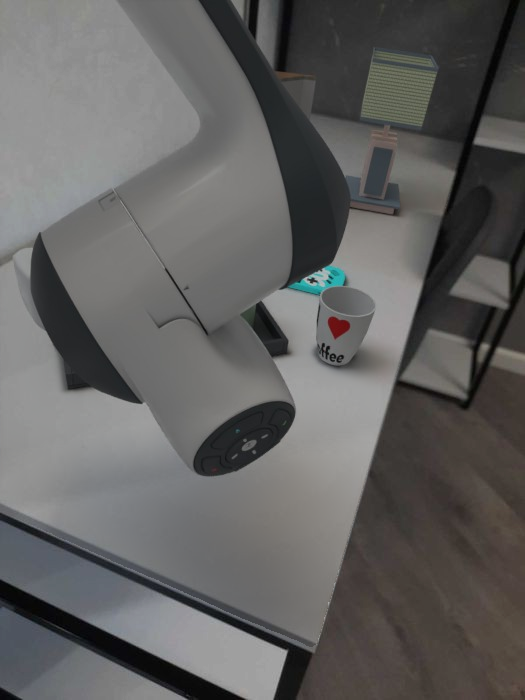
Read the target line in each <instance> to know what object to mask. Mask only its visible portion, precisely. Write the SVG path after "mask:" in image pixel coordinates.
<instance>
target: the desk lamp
mask: <svg viewBox="0 0 525 700" xmlns="http://www.w3.org/2000/svg"><path fill="white" fill-rule="evenodd" d="M368 70H369V71H368V75H367V80H366V85H365V90H364V94H363V99H362V103H361V109H360V115H359V121H361V122H366V123H372V124H378V125H384V127H383V130H380V129H372V128H371V133H370V138H369V142H368V145H367V151H366V155H365V159H364V163H363V168H362V173H361V177H360V176H359V177H358V176H352V175H348V174H347V175H345V179H346V181H347V184H348V187H349V191H350V196H351V203H350V208H354V209H360V210H365V211H371V212H377V213H383V214H389V215H394V212H395V210H400V209H401V201H400V199H401V198H400V188H399V183H395V182H394V183H393V182H389V181H390V177H391V172H392V170H393V166H394V162H395V158H396V154H397V150H398V148H399V147H398V146H399V143H398V141H399V140H398V139H399V138H398V137H397V136H398V133H397V132H393V131H392V132H391V131H390V129H391V127H395V128H396V127H397V128H403V129H409V130H414V131H415V130H416V131H420V132H421V131H422V129H423V124H424V121H425V117H426V114H427V111H428V106H429V102H430V99H431V96H432V92H433V89H434V85H435V81H436V78H437V74H438V72H439V66H438V64H437V62H436V61H435V59H434V57H433V55H430V54H429V55H428V54H422V53H416V52H409V51H403V50H396V49H389V48H382V47H375V46H374V47H373V50H372V56H371V61H370V66H369V69H368Z"/></svg>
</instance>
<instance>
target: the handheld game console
mask: <svg viewBox="0 0 525 700" xmlns="http://www.w3.org/2000/svg"><path fill="white" fill-rule="evenodd" d="M345 281H346V273H345V271H344V270H342V269H341V268H339V267H337V266H333V265H329V266H327V267H325V268H323V269H321V270H319V271H317V272H315V273H313V274H311V275H309V276H308V277H306V278H304V279H302V280H300V281H298V282H296V283H294V284H292V285H290V286H288V287H287V288H289V289H294V290H298V291H301V292H306V293H310V294H314V295H318V296H320V294H321V292H322V291H323V290H324V289H326V288H328V287H332V286H345V285H344V284H345Z"/></svg>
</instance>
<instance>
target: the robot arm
mask: <svg viewBox="0 0 525 700" xmlns="http://www.w3.org/2000/svg"><path fill="white" fill-rule="evenodd" d="M115 1H116V3H117V4H118V5H119V7H120V8H121V9H122V11H123V12H124V14H125V15H126V16H127V18H128V19H129V20H130V22H131V23H132V25H133V27H135V28H136V31H138V33H139V34H140V36H142V38H143V40H144V41H145V43H146V44H147V46H148V47H149V48H150V50H151V51H152V53H153V54H154V55H155V57H156V58H157V60H159V62H160V63H161V65H162V66H163V67H164V69H165V70H166V72H167V73H168V74H169V75H170V77H171V79H172V80H173V81H174V83H175V85H177V87H178V88H179V90H180V91H181V93H182V94H183V95H184V96H185V98H186V99H187V100H188V103H190V106H192V107H193V109H194V110H195V112H196V113H197V116H198V119H199V128H198V131H197V133H196V134H195V136H194V137H193V138H192V139H191V140H190V141H188V142H187V143H186V144H185V145H182V146H181V147H180V148H178V149H176V150H175V151H173V152H172V153H170V154H168V155H167V156H165V157H163V158H162V159H160V160H158V161H156V162H155V163H154V164H152V165H150V166H149V167H147V168H145V169H143V170H142V171H139V173H137V174H135V175H134V176H132V177H130V178H129V179H126V181H124V182H122V183H120V184H118V185H117V186H115V187H114V188H112V187H110V188H108V189H107V190H104V192H102V193H100V194H98V195H97V196H95V197H93V198H92V199H90V200H89V201H87V202H85V203H83V204H82V205H80V206H79V207H77V208H75V209H74V210H72V211H71V212H69V213H67V214H66V215H65V216H63V217H62V218H60V219H58V220H57V221H55V222H53V224H50V225H49V226H48V227H46V228H45V229H43V231H40V232H38V234H37V236H36V238H35V241H34V243H33V246H32V247H23V248H21V249H19V250H18V251H16V252H15V253H14V254H13V255H12V263H13V269H14V273H15V278H16V282H17V286H18V290H19V294H20V298H21V299H22V302H23V304H24V306H25V308H26V310H27V312H28V315H30V317H31V319H32V321H33V322H34V323H35V324H36V326H38V327H39V328H40V329H41V330H42V331H45V332H46V334H47V336H48V338H49V340H50V341H51V344H52V346H53V349H54V352H55V353H56V355H58V356H59V357H61V358H62V360H63V359H64V360H65V362H66V363H67V364H68V365H69V366H70V368H71V369H72V370H73V371H74V372H75V373H76V374H77V375H78V376H79V377H80V378H81V379H83V380H84V381H85V382H86V383H88V384H89V385H90V387H92V388H93V389H95V390H97V391H98V392H101V393H103V394H106V395H108V396H111V397H114V398H116V399H118V400H121V401H124V402H128V403H132V404H137V405H143V403H145V405H147V407H148V408H149V411H150V413H151V414H152V417H153V418H154V420H155V422H156V424H157V425H158V427H159V429H160V430H161V432H162V433H163V435H164V436H165V438H166V439H167V441H168V442H169V443H170V445H171V447H172V448H173V449H174V451H175V452H176V454H177V456H178V457H179V458H180V460H181V461H182V462H183V464H185V466H186V467H187V468H188V469H189V470H190V471H191V472H192V473H194V474H195V475H197V476H200V477H207V478H209V477H211V478H212V477H219V476H224V475H227V474H231V473H235V472H238V471H240V470H242V469H244V468H245V467H247V466H249V465H250V464H252V463H254V462H256V461H257V460H258V459H260V458H261V457H263V456H264V455H265V454H267V453H268V452H270V451H271V450H272V449H274V448H275V447H276V446H277V445H279V443H281V442H282V440H283V438H285V436H286V434H287V433H288V432H289V431H290V429H291V427H292V425H293V424H294V422H295V419H296V416H297V415H296V414H297V407H296V403H295V400H294V397H293V395H292V393H291V390H290V389H289V387H288V384H287V382H286V381H285V378H284V377H283V375H282V373H281V372H280V370H279V368H278V366H277V364H276V362H275V360H274V358H272V357H273V356H271V355H270V354H269V352H268V351H267V349H266V348H265V346H264V345H263V343H262V342H261V340H260V339H259V337H258V336H257V334H256V333H255V332H254V330H253V329H252V328H251V326H250V325H249V324H248V323H247V321H246V320H245V319H244V318H243V317H242V316H240V314H241V313H243V312H244V311H246V310H247V309H249V308H251V307H252V306H254V305H255V304H257V303H258V302H260V301H263V300H265V299H266V298H267V297H269V296H270V295H272V294H274V293H276V292H277V291H282V290H285V289H287V288H289V287H288V286H290V285H292V284H294V283H296V282H298V281H300V280H302V279H304V278H306V277H308V276H309V275H311V274H313V273H315V272H317V271H319V270H321V269H323V268H325V267H327V266H331V265H332V264H333V262H334V261H335V258H336V255H337V253H338V251H339V250H340V247H341V244H342V241H343V238H344V235H345V232H346V227H347V225H348V221H349V216H350V210H351V207H350V203H351V196H350V191H349V187H348V184H347V181H346V179H345V178H346V175H345V174H344V172H343V169H342V168H341V166H340V164H339V163H338V160H337V159H336V157H335V155H334V154H333V152H332V150H331V149H330V147H329V145H328V144H327V143H326V141H325V140H324V139H323V137H322V136H321V134H320V132H319V131H318V130H317V129H316V127H315V126H314V124H313V123H312V121H311V119H310V120H309V119H308V118H307V116H306V115H305V114H304V112H303V111H302V110H301V108H300V107H299V106H298V104H297V103H296V102H295V100H294V99H293V98H292V96H291V95H290V94H289V92H288V91H287V90H286V88H285V87H284V85H283V84H282V82H281V81H280V79H279V78H278V76H277V75H276V73H275V72H274V71H275V70H274V69H273V67H272V66H271V64H270V62H269V60H268V58H267V57H266V56H265V54H264V52H263V51H262V49H261V47H260V46H259V44H258V43H257V41H256V39H255V37H254V35H253V33H252V32H251V31H250V29H249V27H248V26H247V24H246V23H245V21H244V19H243V17H242V15H241V14H240V12H239V11H238V8H237V7H236V6H235V4H234V2H233V1H232V0H115Z"/></svg>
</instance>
